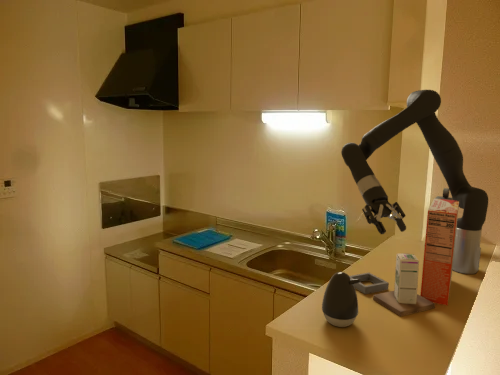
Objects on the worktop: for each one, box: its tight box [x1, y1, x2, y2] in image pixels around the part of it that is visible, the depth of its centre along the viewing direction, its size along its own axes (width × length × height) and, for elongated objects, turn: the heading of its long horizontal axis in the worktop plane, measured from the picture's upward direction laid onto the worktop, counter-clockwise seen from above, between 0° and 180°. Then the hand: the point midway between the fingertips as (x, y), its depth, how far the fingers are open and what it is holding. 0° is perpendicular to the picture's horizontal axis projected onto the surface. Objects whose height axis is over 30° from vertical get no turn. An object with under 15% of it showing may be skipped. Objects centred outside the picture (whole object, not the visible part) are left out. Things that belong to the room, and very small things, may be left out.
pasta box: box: [419, 197, 460, 306], centre depth 130 cm, size 23×8×30 cm, turn 150°
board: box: [372, 290, 436, 317], centre depth 122 cm, size 14×12×2 cm
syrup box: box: [393, 253, 420, 304], centre depth 120 cm, size 6×6×14 cm
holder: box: [349, 272, 389, 295], centre depth 134 cm, size 10×10×2 cm
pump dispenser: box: [321, 271, 361, 328], centre depth 109 cm, size 10×10×15 cm
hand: (394, 231), depth 124 cm, fingers open, 8 cm apart
